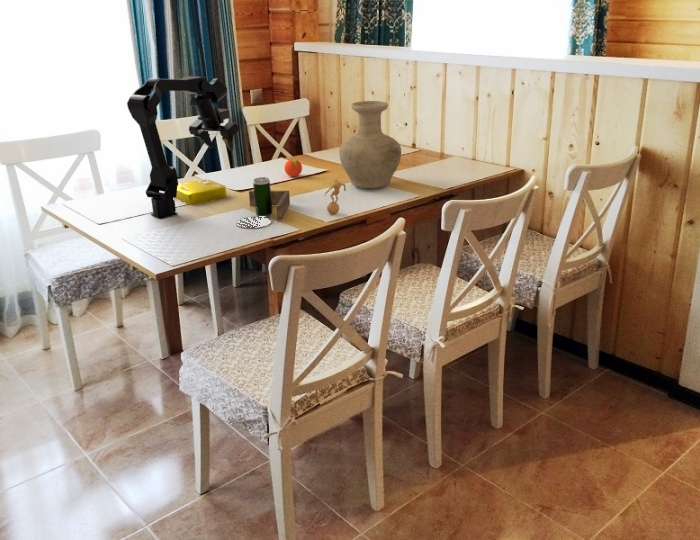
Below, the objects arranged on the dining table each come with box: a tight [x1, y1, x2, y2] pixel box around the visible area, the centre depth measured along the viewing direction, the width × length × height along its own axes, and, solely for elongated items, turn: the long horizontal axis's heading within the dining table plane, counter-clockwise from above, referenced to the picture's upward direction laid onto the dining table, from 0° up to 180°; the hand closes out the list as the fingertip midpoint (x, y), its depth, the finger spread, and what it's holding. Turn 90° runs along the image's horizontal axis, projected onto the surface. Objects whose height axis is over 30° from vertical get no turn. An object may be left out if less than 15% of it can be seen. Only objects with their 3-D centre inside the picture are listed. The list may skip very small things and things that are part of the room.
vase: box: [338, 100, 402, 189], centre depth 248 cm, size 22×22×30 cm
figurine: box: [324, 178, 347, 215], centre depth 221 cm, size 8×6×12 cm
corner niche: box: [248, 190, 291, 221], centre depth 226 cm, size 14×18×5 cm
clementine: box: [284, 158, 303, 178], centre depth 267 cm, size 8×7×7 cm
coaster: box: [236, 215, 268, 228], centre depth 217 cm, size 11×11×1 cm
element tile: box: [174, 178, 227, 206], centre depth 245 cm, size 15×15×5 cm
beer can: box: [252, 176, 273, 217], centre depth 222 cm, size 5×5×12 cm
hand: (221, 148), depth 246 cm, fingers open, 9 cm apart
